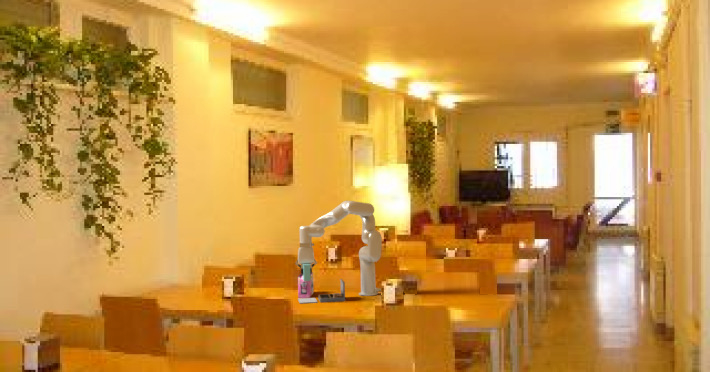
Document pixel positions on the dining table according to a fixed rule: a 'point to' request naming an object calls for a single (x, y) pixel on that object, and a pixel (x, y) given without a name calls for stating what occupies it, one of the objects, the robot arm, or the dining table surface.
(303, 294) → the gum box
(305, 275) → the teal board
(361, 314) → the dining table surface
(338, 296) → the offcut stack
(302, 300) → the mat
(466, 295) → the dining table surface
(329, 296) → the rack
